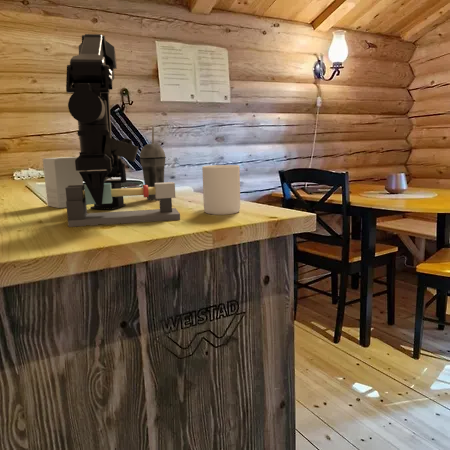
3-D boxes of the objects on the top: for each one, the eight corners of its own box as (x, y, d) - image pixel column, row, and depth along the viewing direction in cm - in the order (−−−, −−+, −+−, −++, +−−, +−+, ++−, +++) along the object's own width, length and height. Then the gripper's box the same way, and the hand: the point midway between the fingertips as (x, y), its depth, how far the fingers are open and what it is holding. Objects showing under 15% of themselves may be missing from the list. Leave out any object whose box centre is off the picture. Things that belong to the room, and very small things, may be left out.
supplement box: (86, 205, 111) (81, 156, 109) (58, 208, 106) (53, 158, 104) (73, 202, 116) (69, 156, 114) (46, 206, 111) (41, 157, 109)
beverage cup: (137, 200, 117) (132, 127, 113) (149, 197, 123) (145, 127, 119) (161, 201, 114) (157, 126, 110) (172, 197, 121) (168, 126, 117)
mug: (191, 209, 100) (189, 165, 98) (222, 205, 104) (221, 163, 102) (213, 216, 90) (212, 167, 88) (247, 212, 94) (246, 165, 92)
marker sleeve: (86, 204, 84) (84, 185, 84) (87, 202, 88) (86, 184, 87) (111, 203, 85) (110, 184, 85) (112, 200, 89) (111, 182, 88)
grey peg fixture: (68, 226, 82) (64, 188, 81) (73, 219, 90) (69, 184, 88) (180, 219, 87) (178, 183, 86) (175, 213, 95) (174, 180, 93)
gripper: (135, 122, 76) (141, 207, 79) (133, 126, 94) (138, 195, 97) (71, 123, 74) (79, 211, 77) (81, 127, 92) (88, 198, 95)
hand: (99, 203), depth 87 cm, fingers closed on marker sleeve, 4 cm apart
